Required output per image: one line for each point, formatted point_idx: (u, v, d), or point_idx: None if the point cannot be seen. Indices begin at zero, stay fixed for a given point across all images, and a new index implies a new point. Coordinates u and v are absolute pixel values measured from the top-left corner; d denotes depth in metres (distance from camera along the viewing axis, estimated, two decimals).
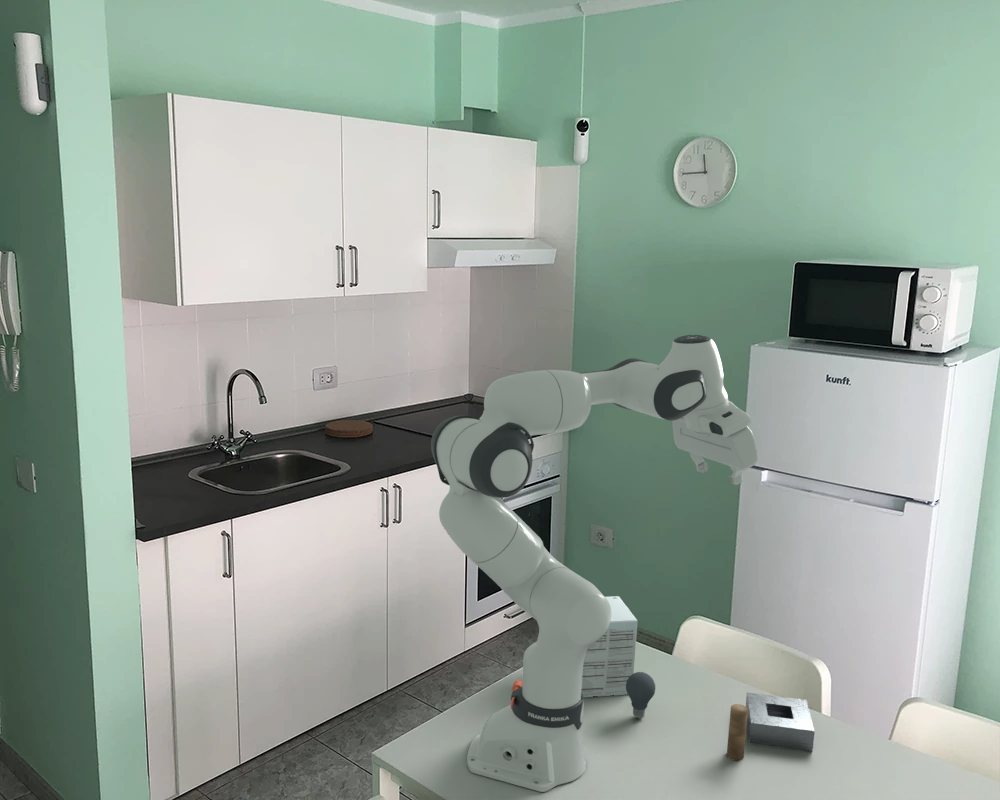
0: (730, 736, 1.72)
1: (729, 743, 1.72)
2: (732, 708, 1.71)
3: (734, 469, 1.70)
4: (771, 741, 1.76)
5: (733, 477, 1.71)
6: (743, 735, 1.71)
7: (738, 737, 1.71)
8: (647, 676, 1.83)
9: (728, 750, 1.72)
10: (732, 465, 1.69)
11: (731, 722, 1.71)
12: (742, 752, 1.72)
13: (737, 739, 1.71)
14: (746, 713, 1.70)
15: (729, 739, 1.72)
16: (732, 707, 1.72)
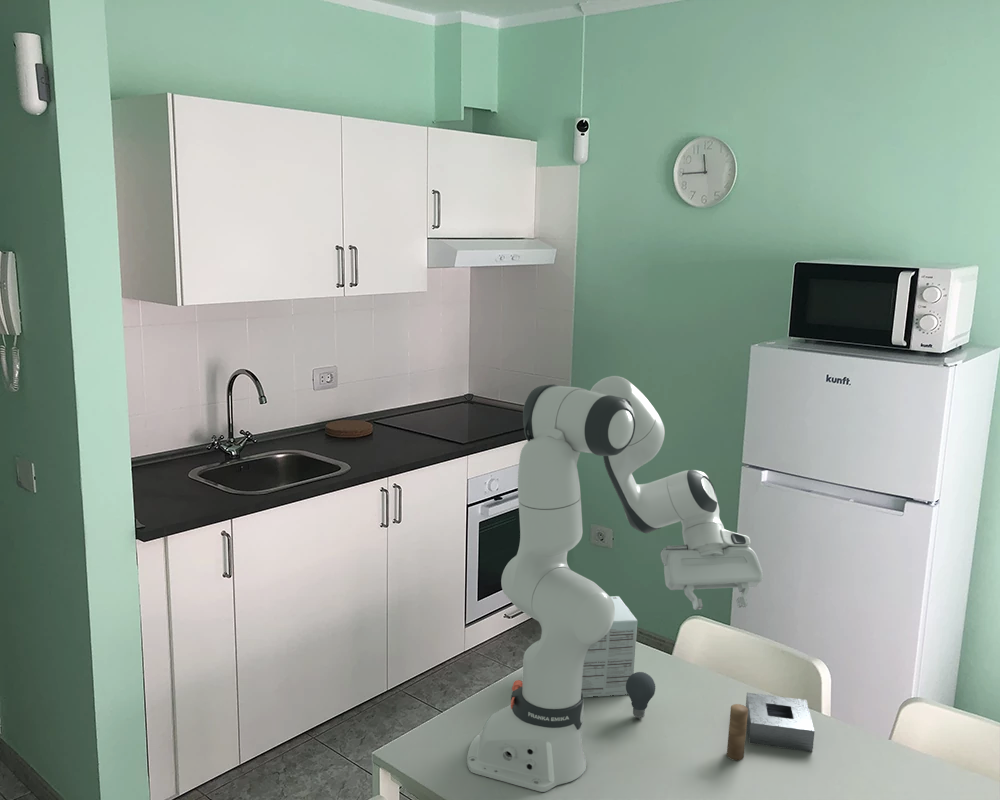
0: (730, 736, 1.72)
1: (729, 743, 1.72)
2: (732, 708, 1.71)
3: (747, 586, 1.82)
4: (771, 741, 1.76)
5: (745, 596, 1.81)
6: (743, 735, 1.71)
7: (738, 737, 1.71)
8: (647, 676, 1.83)
9: (728, 750, 1.72)
10: (749, 578, 1.83)
11: (731, 722, 1.71)
12: (742, 752, 1.72)
13: (737, 739, 1.71)
14: (746, 713, 1.70)
15: (729, 739, 1.72)
16: (732, 707, 1.72)
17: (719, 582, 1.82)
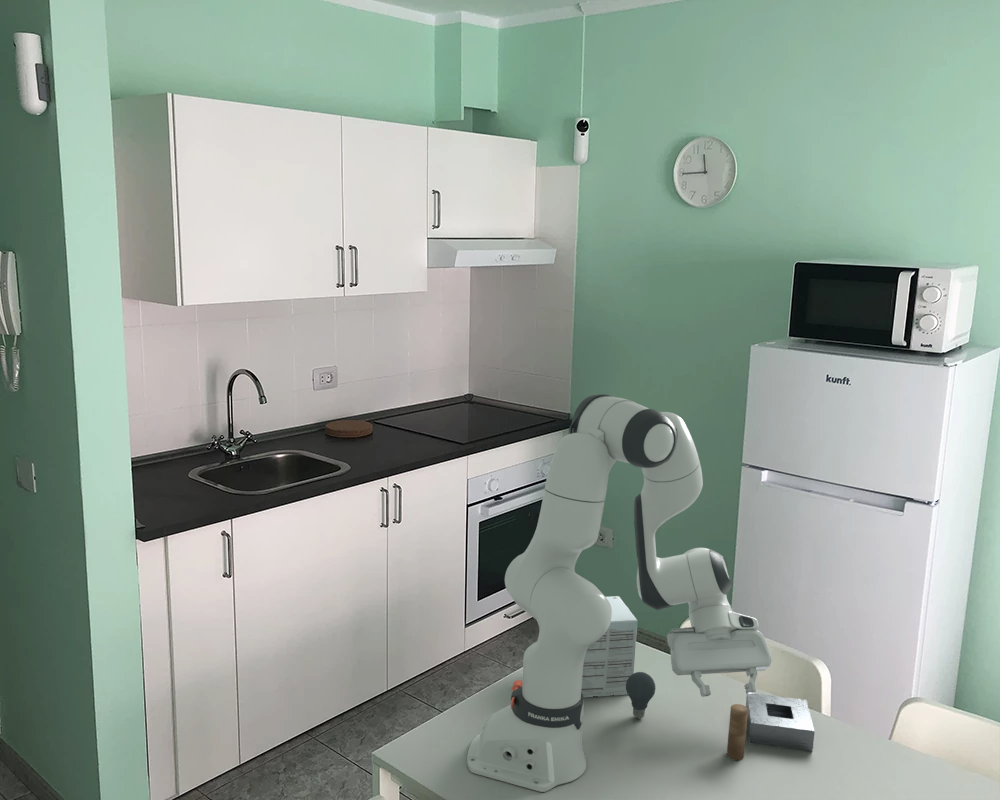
0: (730, 736, 1.72)
1: (729, 743, 1.72)
2: (732, 708, 1.71)
3: (755, 671, 1.79)
4: (771, 741, 1.76)
5: (753, 682, 1.77)
6: (743, 735, 1.71)
7: (738, 737, 1.71)
8: (647, 676, 1.83)
9: (728, 750, 1.72)
10: (757, 663, 1.79)
11: (731, 722, 1.71)
12: (742, 752, 1.72)
13: (737, 739, 1.71)
14: (746, 713, 1.70)
15: (729, 739, 1.72)
16: (732, 707, 1.72)
17: (727, 667, 1.78)
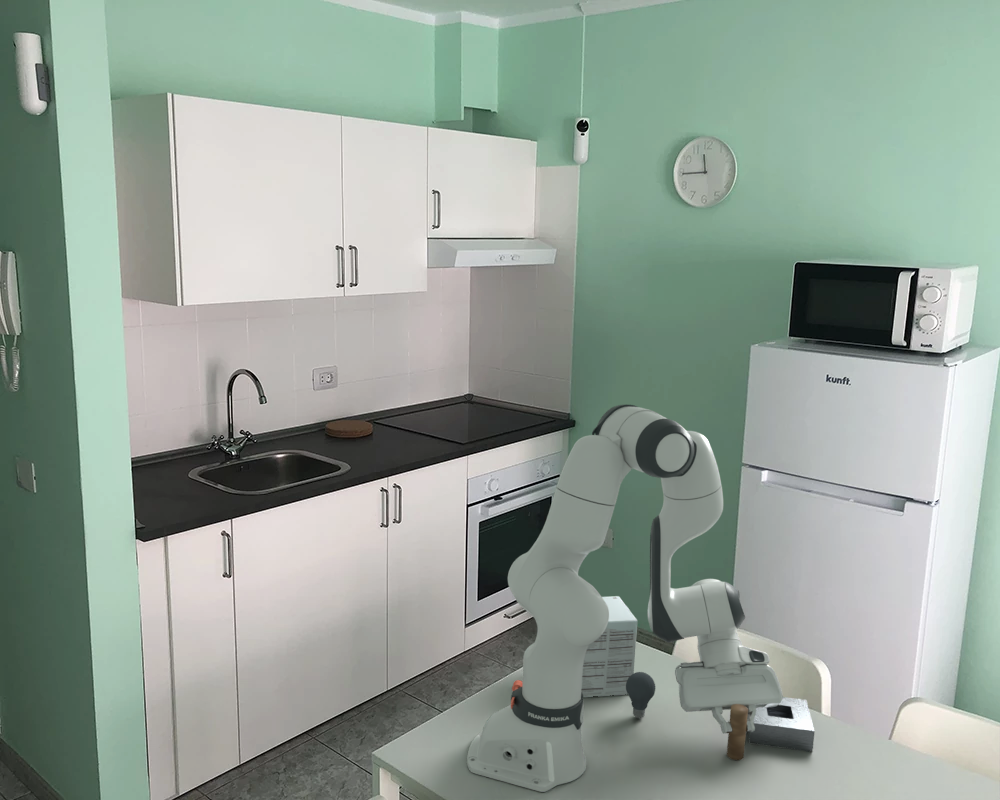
0: (730, 736, 1.72)
1: (729, 743, 1.72)
2: (732, 708, 1.71)
3: (754, 708, 1.73)
4: (771, 741, 1.76)
5: (752, 720, 1.72)
6: (743, 735, 1.71)
7: (738, 737, 1.71)
8: (647, 676, 1.83)
9: (728, 750, 1.72)
10: (768, 699, 1.74)
11: (731, 722, 1.71)
12: (742, 752, 1.72)
13: (737, 739, 1.71)
14: (746, 713, 1.70)
15: (729, 739, 1.72)
16: (732, 707, 1.72)
17: None
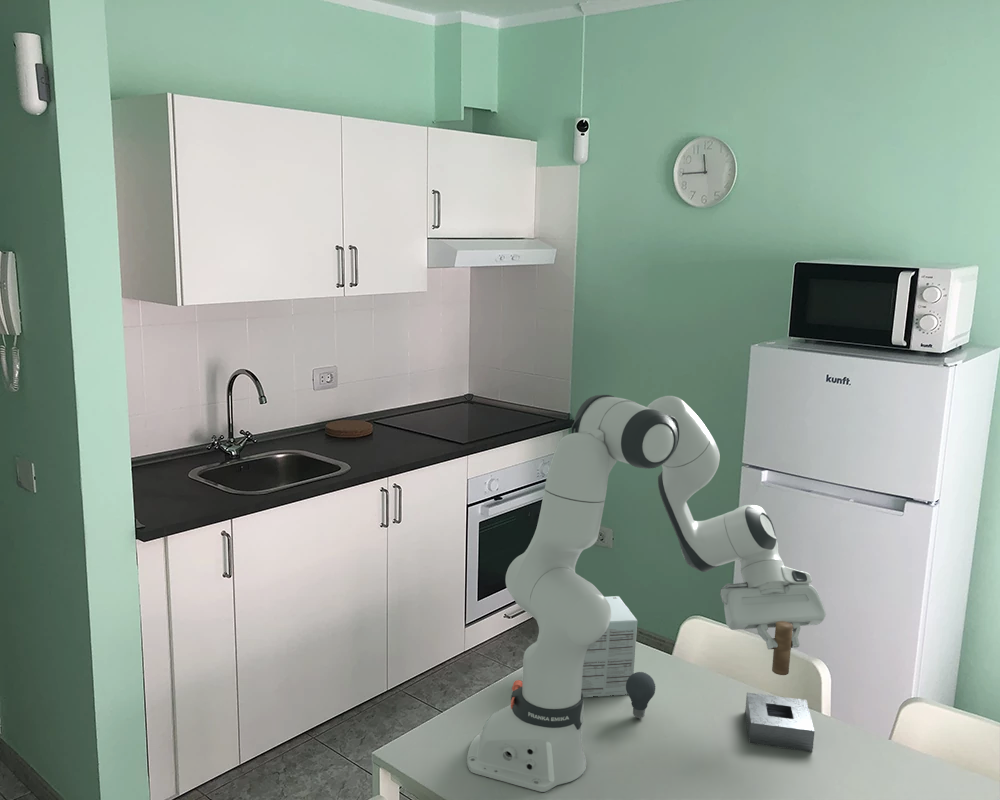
0: (775, 652, 1.77)
1: (774, 659, 1.77)
2: (777, 624, 1.76)
3: (798, 625, 1.79)
4: (771, 741, 1.76)
5: (796, 636, 1.77)
6: (788, 650, 1.76)
7: (784, 652, 1.76)
8: (647, 676, 1.83)
9: (773, 666, 1.78)
10: (812, 617, 1.79)
11: (776, 638, 1.76)
12: (787, 667, 1.77)
13: (783, 654, 1.76)
14: (791, 629, 1.75)
15: (774, 655, 1.77)
16: (777, 624, 1.77)
17: None
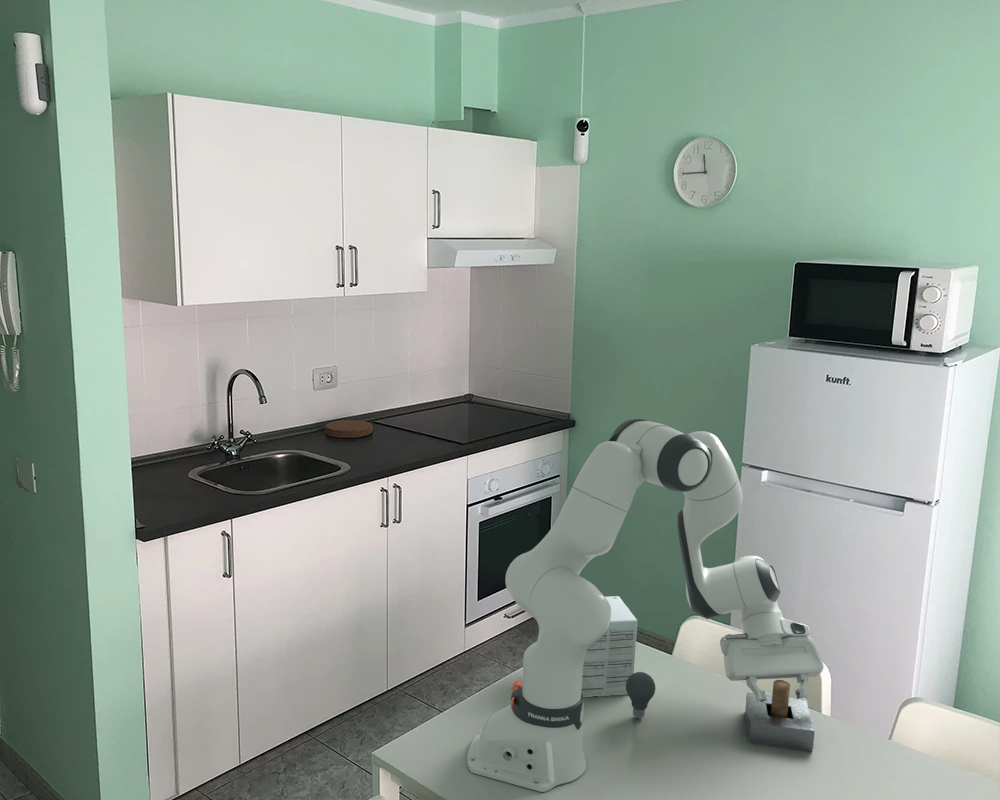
0: (773, 710, 1.80)
1: None
2: (775, 683, 1.80)
3: (806, 677, 1.82)
4: (771, 741, 1.76)
5: (804, 688, 1.81)
6: (785, 709, 1.80)
7: (781, 711, 1.79)
8: (647, 676, 1.83)
9: None
10: (810, 669, 1.82)
11: (774, 697, 1.80)
12: None
13: (780, 712, 1.80)
14: (788, 688, 1.79)
15: (772, 713, 1.81)
16: (775, 683, 1.80)
17: (780, 673, 1.81)
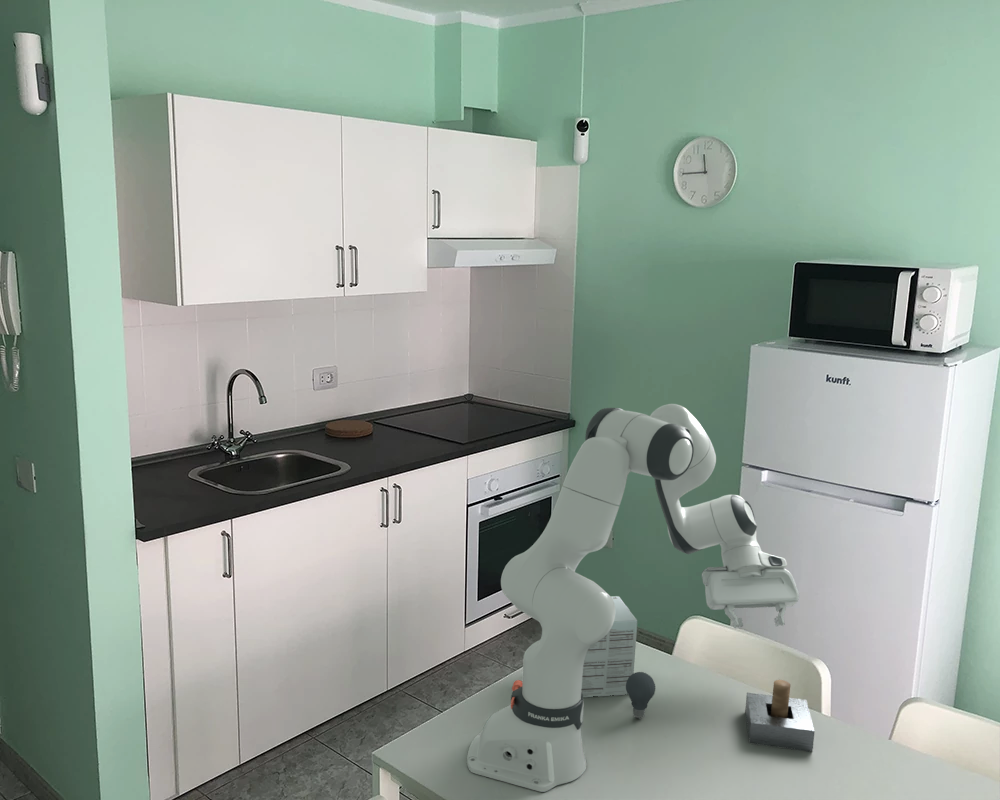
0: (773, 710, 1.80)
1: None
2: (775, 683, 1.80)
3: (784, 606, 1.93)
4: (771, 741, 1.76)
5: (782, 615, 1.91)
6: (786, 709, 1.80)
7: (781, 711, 1.79)
8: (647, 676, 1.83)
9: None
10: (786, 598, 1.93)
11: (774, 697, 1.80)
12: None
13: (780, 712, 1.80)
14: (789, 688, 1.79)
15: (772, 713, 1.81)
16: (775, 682, 1.80)
17: (758, 602, 1.92)
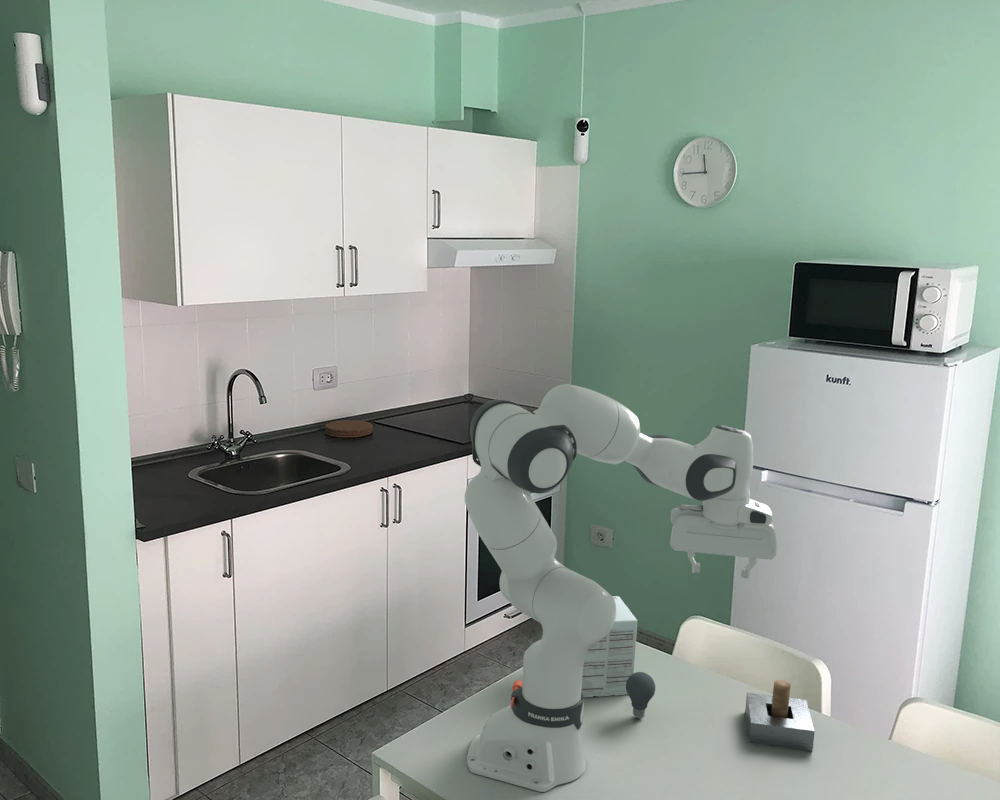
0: (773, 710, 1.80)
1: None
2: (775, 683, 1.80)
3: (754, 561, 1.73)
4: (771, 741, 1.76)
5: (748, 570, 1.74)
6: (786, 709, 1.80)
7: (781, 711, 1.79)
8: (647, 676, 1.83)
9: None
10: (758, 556, 1.72)
11: (774, 697, 1.80)
12: None
13: (780, 712, 1.80)
14: (789, 688, 1.79)
15: (772, 713, 1.81)
16: (775, 682, 1.80)
17: (724, 554, 1.74)
